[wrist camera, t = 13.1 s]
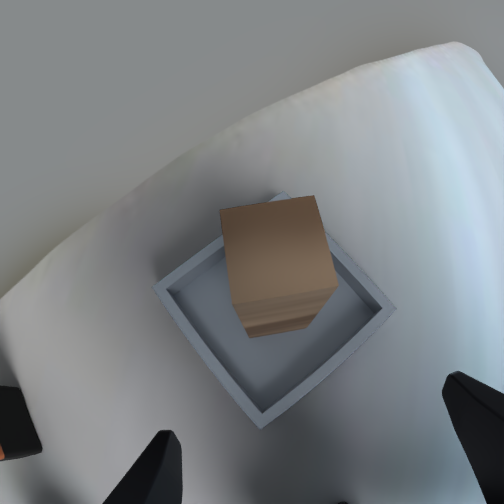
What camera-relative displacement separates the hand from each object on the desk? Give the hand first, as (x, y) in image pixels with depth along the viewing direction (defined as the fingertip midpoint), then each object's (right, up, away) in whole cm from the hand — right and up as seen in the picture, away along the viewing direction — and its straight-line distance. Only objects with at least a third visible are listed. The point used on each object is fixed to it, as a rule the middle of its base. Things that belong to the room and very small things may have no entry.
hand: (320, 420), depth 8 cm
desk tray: (0, +1, +15) cm, 15 cm away
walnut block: (0, +1, +15) cm, 15 cm away
